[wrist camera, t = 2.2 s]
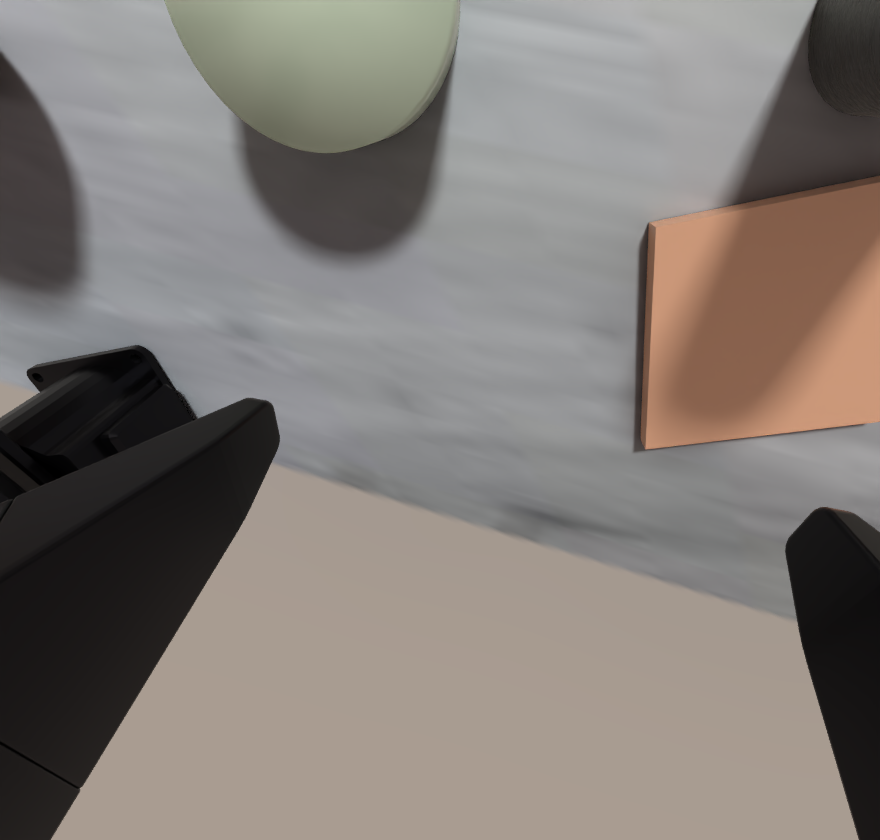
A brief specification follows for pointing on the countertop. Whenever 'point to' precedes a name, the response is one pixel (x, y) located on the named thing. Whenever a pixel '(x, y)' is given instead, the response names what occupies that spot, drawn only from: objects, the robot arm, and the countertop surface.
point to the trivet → (763, 317)
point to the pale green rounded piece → (321, 64)
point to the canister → (847, 55)
